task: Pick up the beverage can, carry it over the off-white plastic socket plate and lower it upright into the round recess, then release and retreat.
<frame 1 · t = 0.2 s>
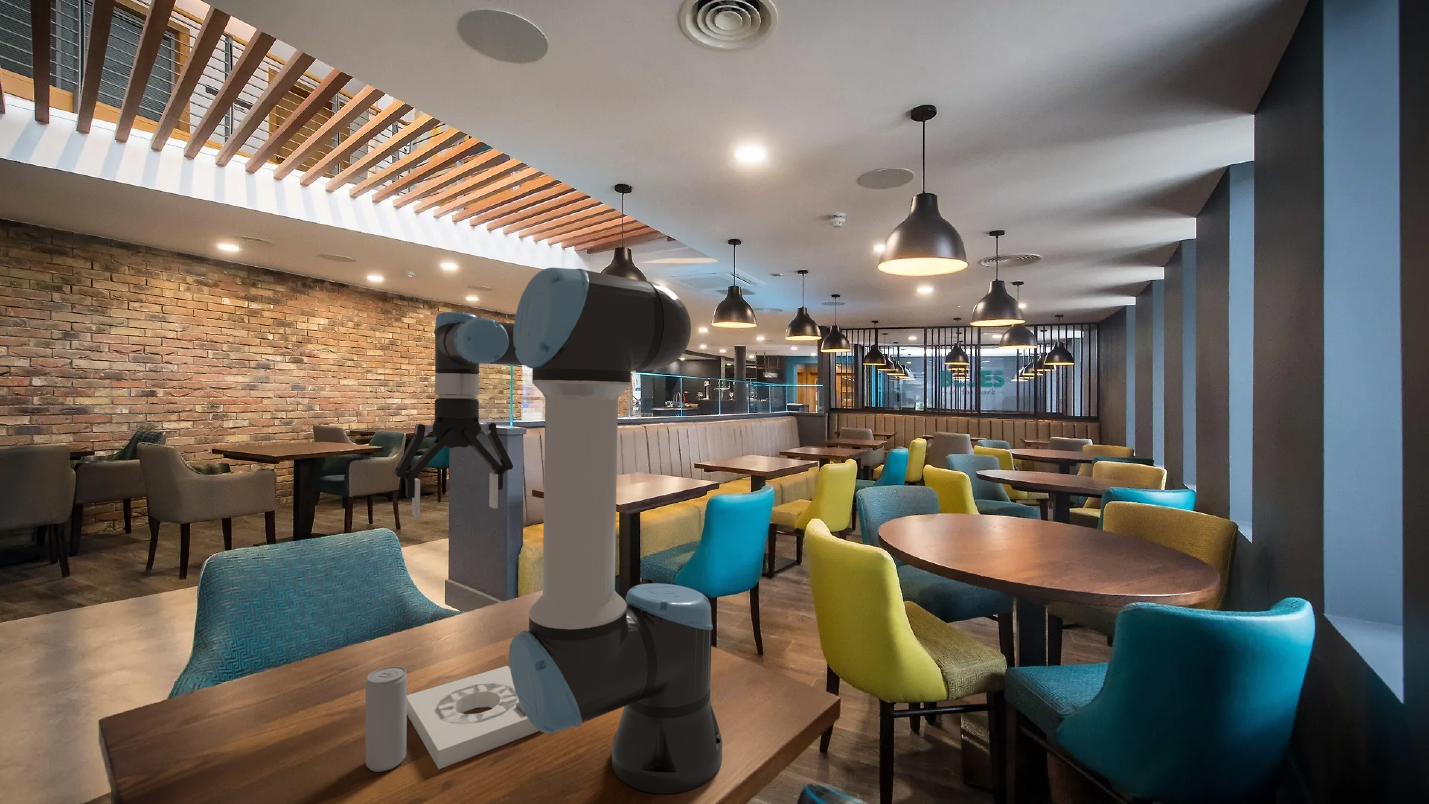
hand: (456, 511, 108), 28 cm above the table, fingers open, 13 cm apart
beverage can: (386, 763, 78), on the table
socket plate: (477, 718, 89), on the table
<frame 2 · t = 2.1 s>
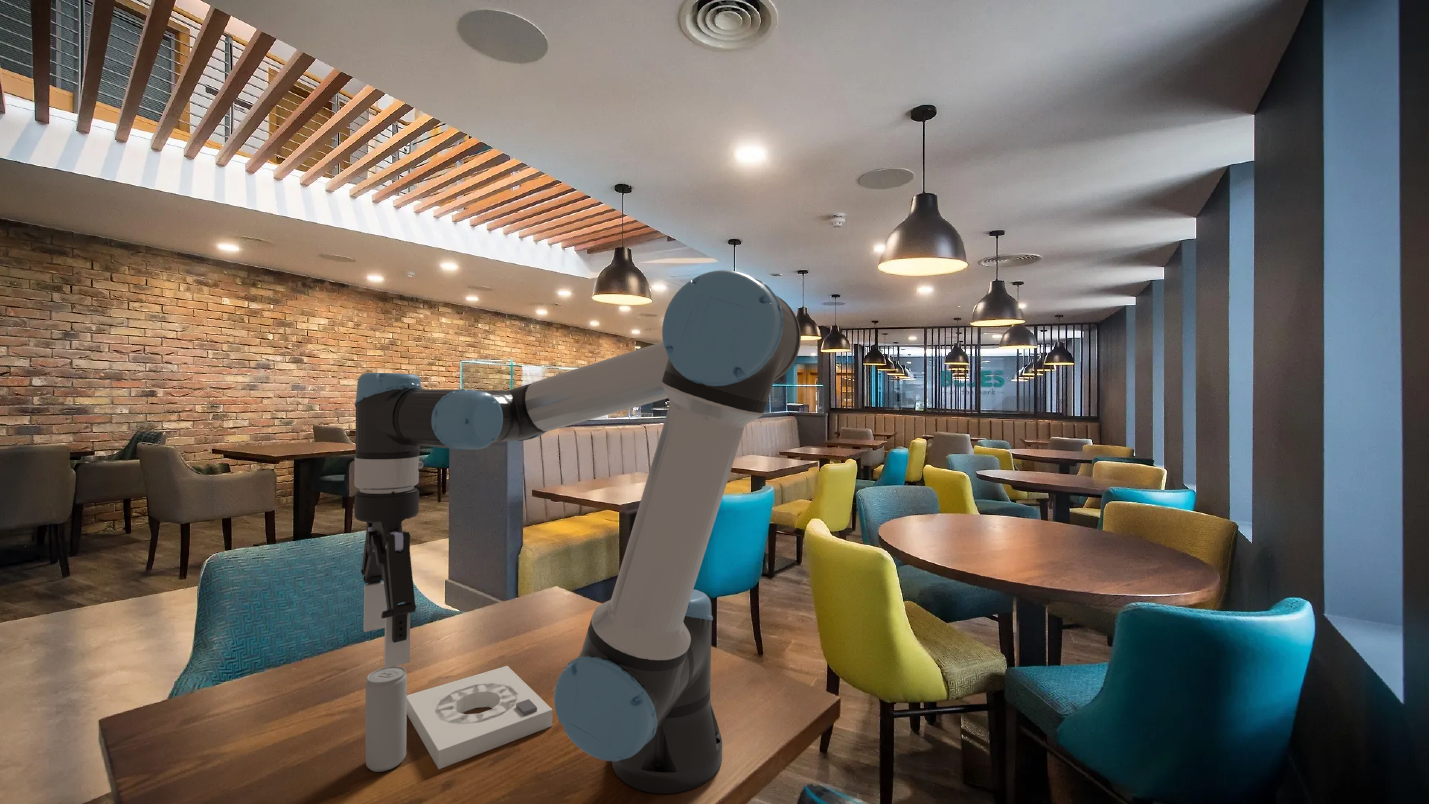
hand: (385, 645, 78), 16 cm above the table, fingers open, 13 cm apart
nothing on the table moved.
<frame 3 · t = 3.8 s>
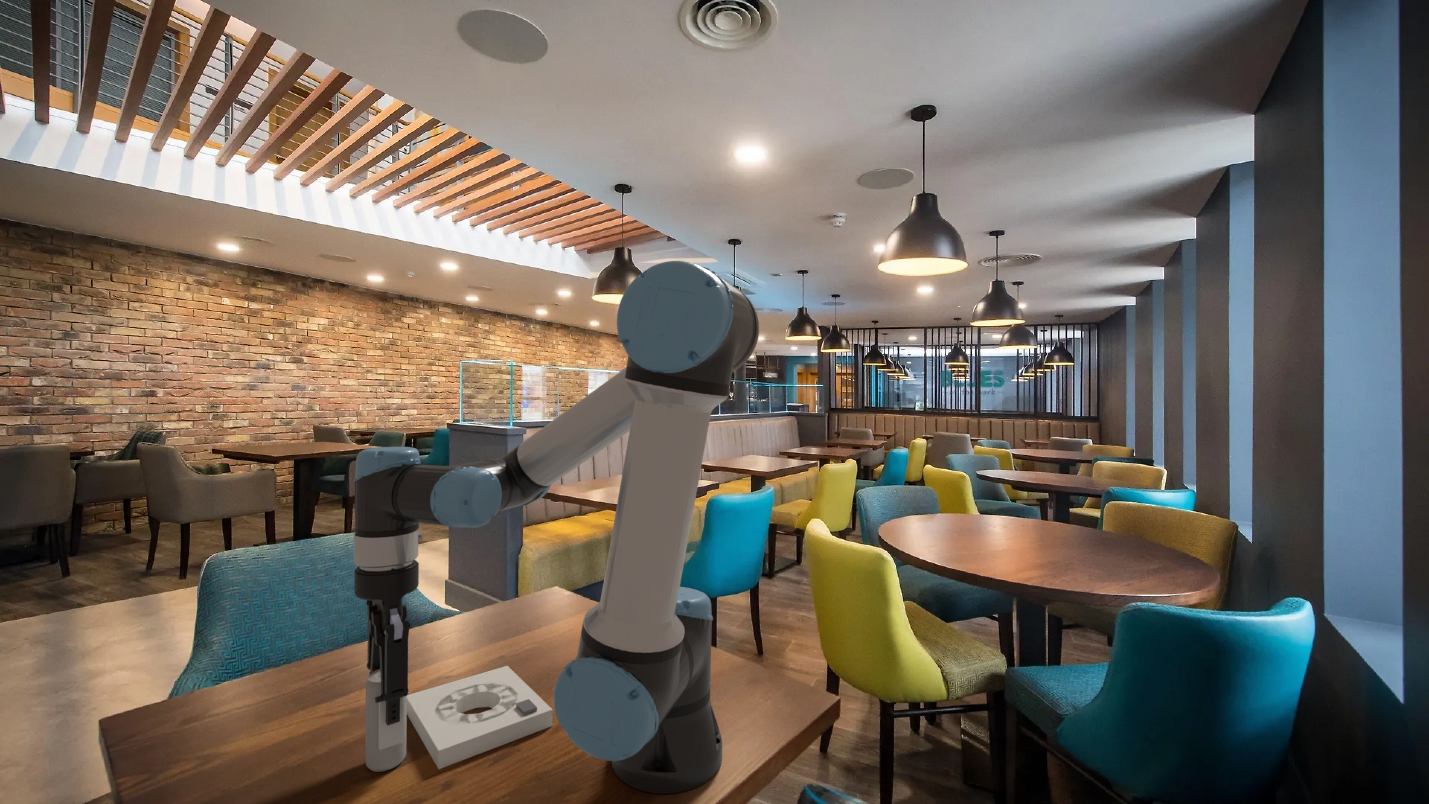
hand: (386, 734, 78), 4 cm above the table, fingers closed on beverage can, 5 cm apart
beverage can: (386, 763, 78), on the table, touching gripper
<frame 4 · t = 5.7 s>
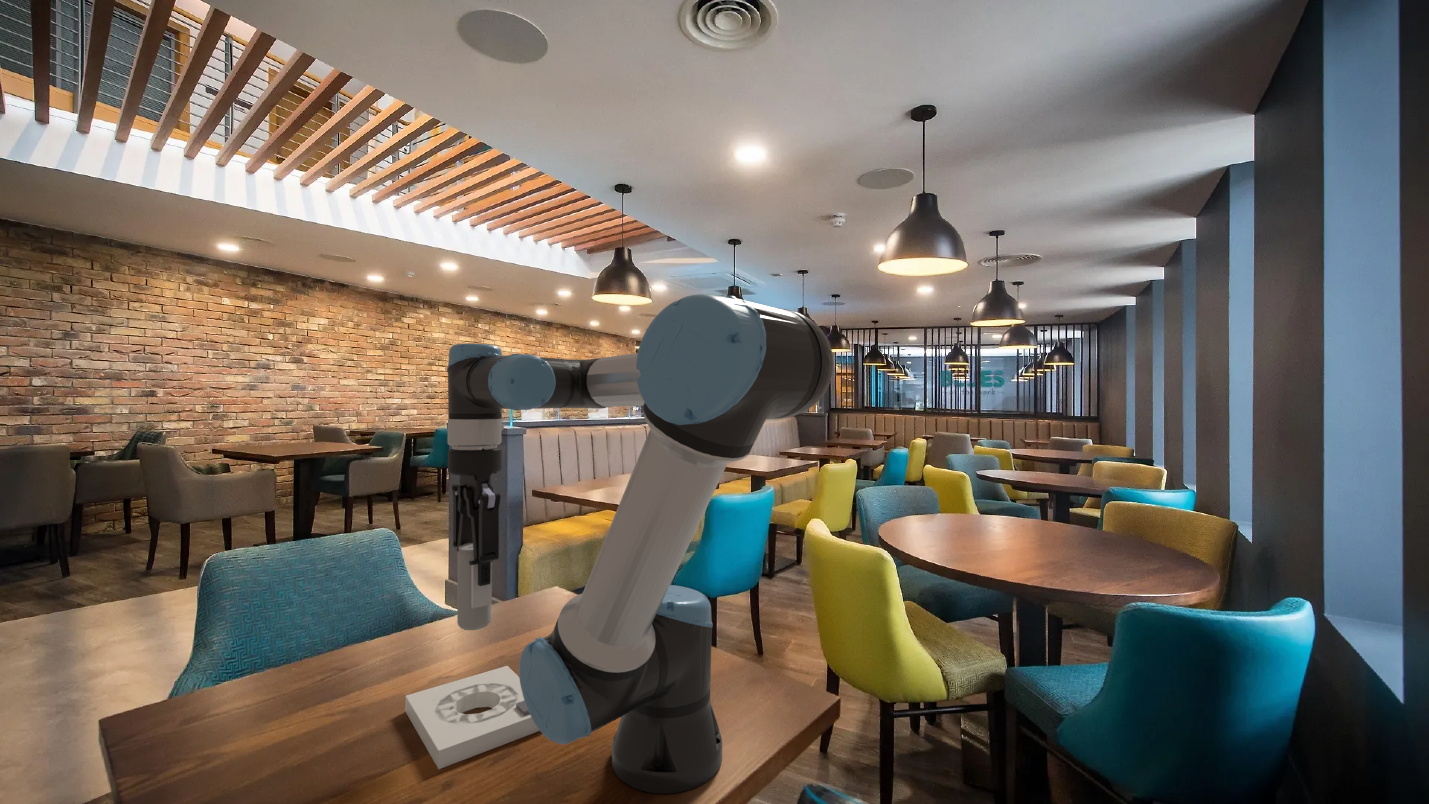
hand: (474, 600, 88), 18 cm above the table, fingers closed on beverage can, 5 cm apart
beverage can: (474, 626, 88), point 15 cm above the table, touching gripper
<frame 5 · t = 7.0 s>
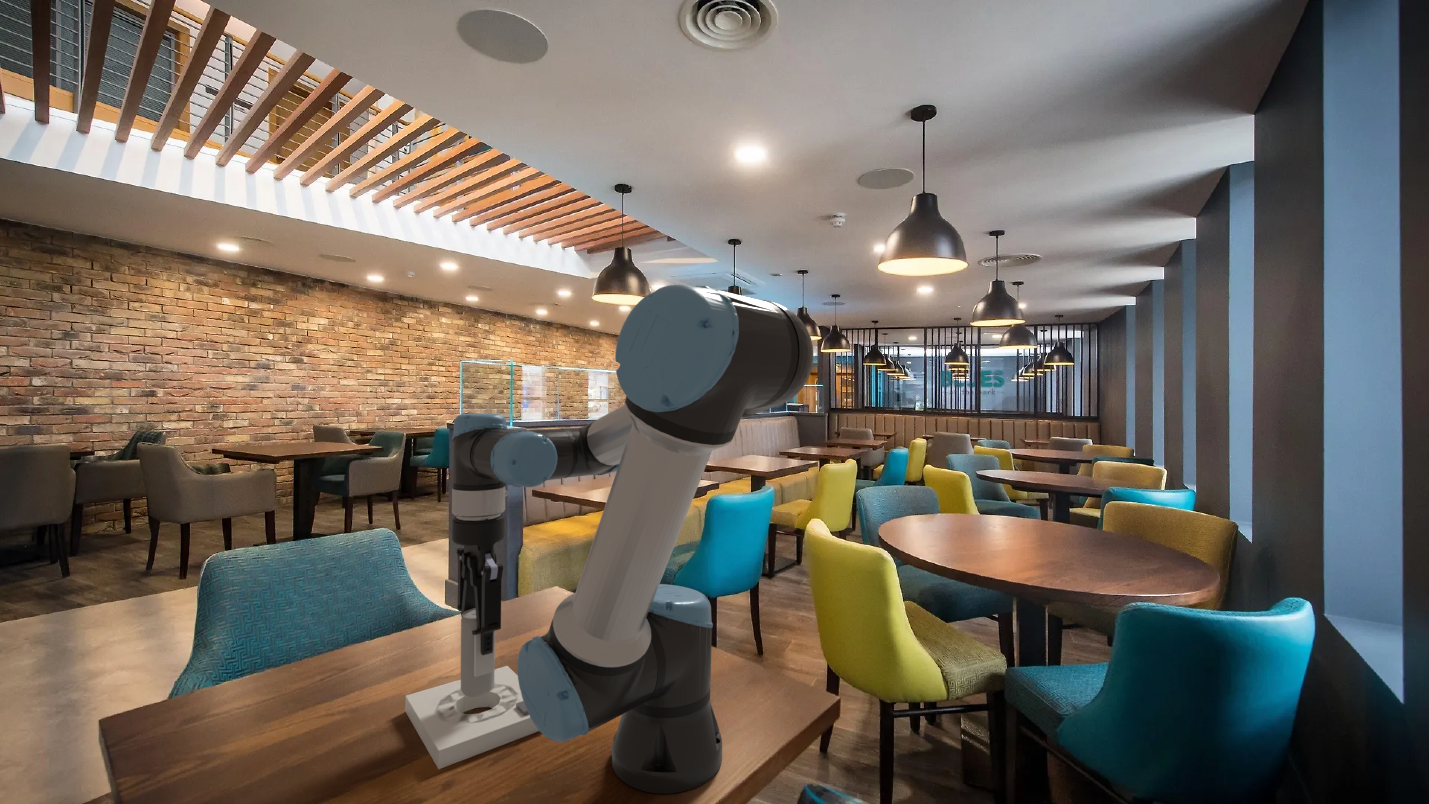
hand: (477, 666, 89), 8 cm above the table, fingers closed on beverage can, 5 cm apart
beverage can: (477, 691, 89), point 4 cm above the table, touching gripper
when the fingers open (4 cm above the table, at t = 8.0 s): beverage can stays where it is, resting in socket plate.
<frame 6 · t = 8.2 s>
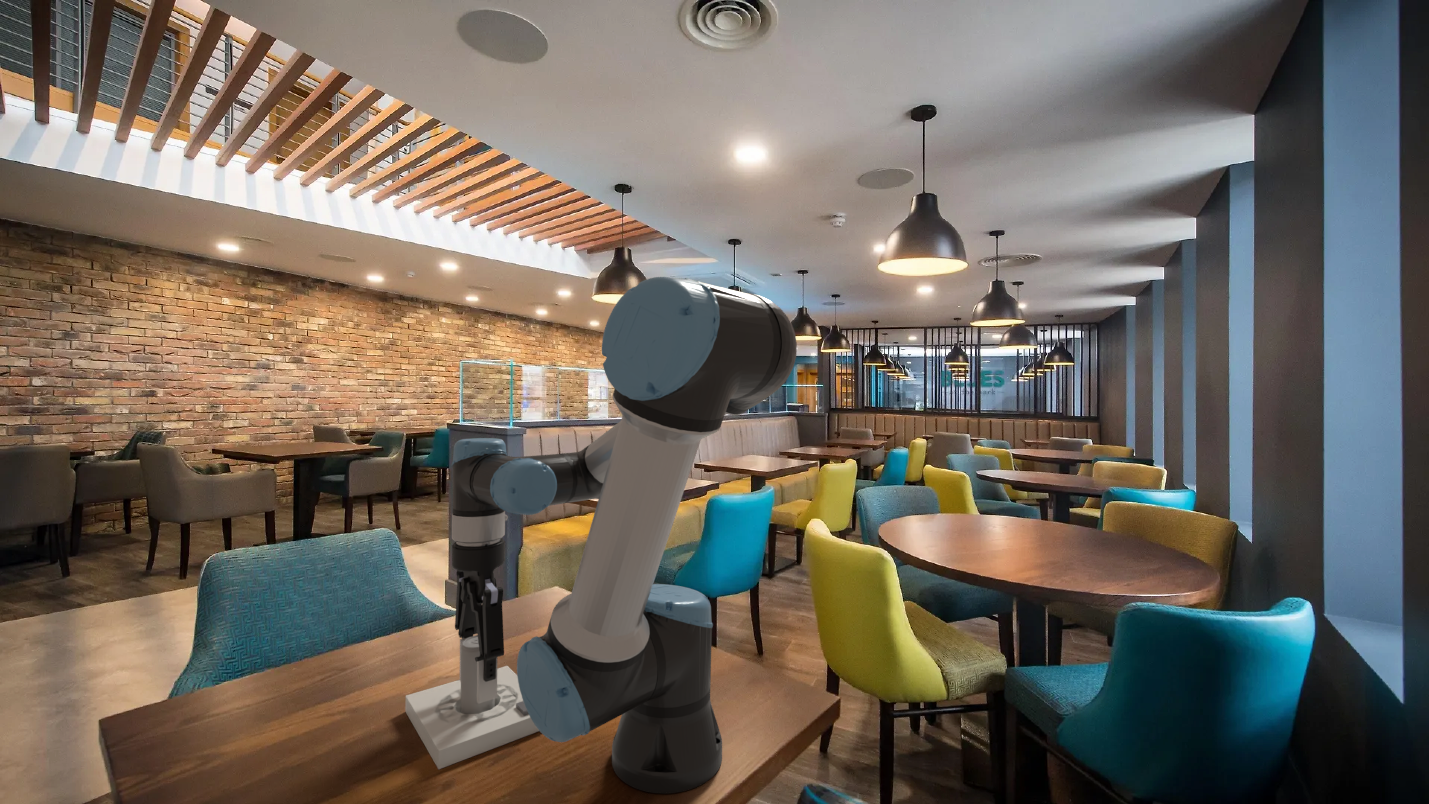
hand: (477, 688, 89), 5 cm above the table, fingers open, 7 cm apart
beverage can: (477, 720, 89), resting in socket plate
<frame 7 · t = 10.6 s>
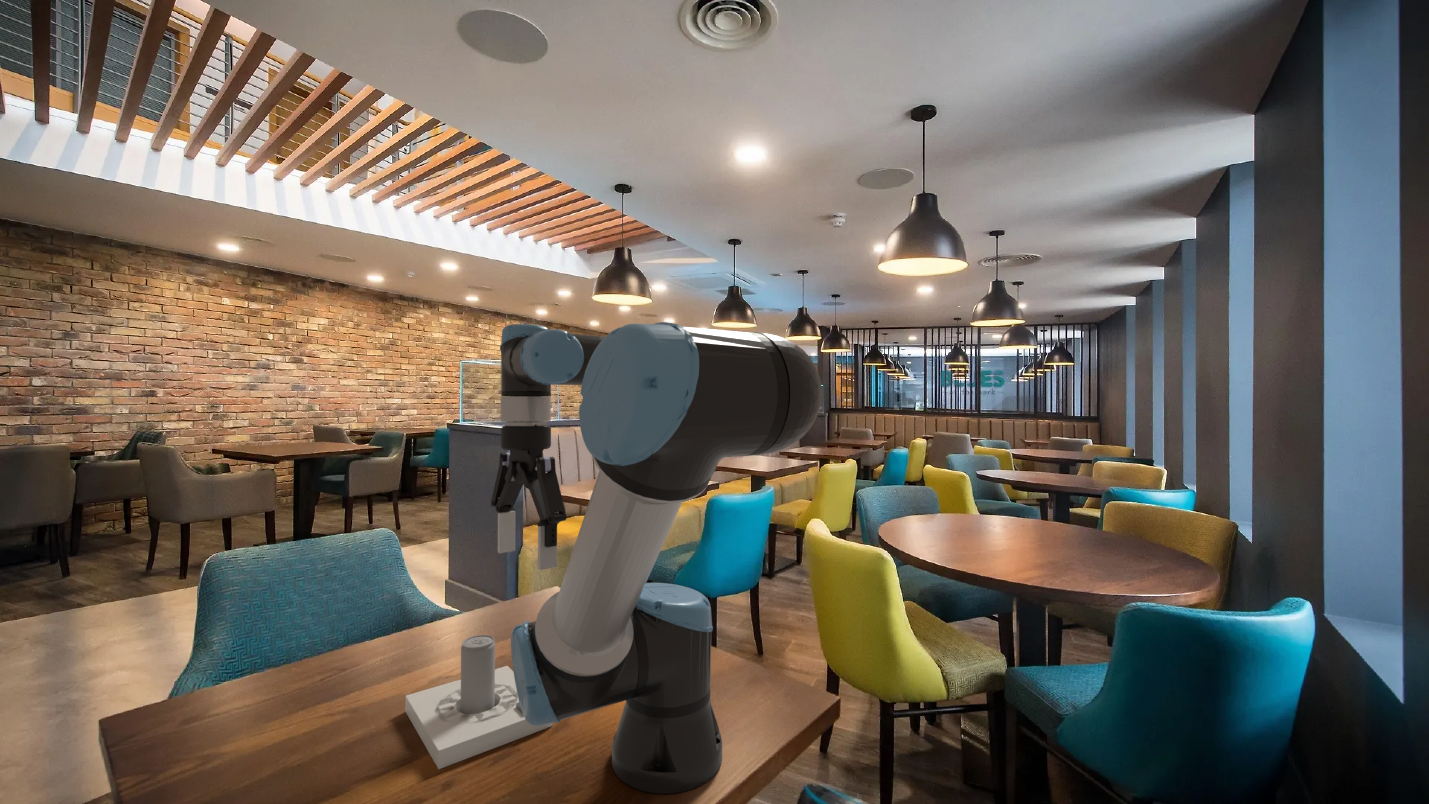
hand: (525, 559, 91), 24 cm above the table, fingers open, 13 cm apart
nothing on the table moved.
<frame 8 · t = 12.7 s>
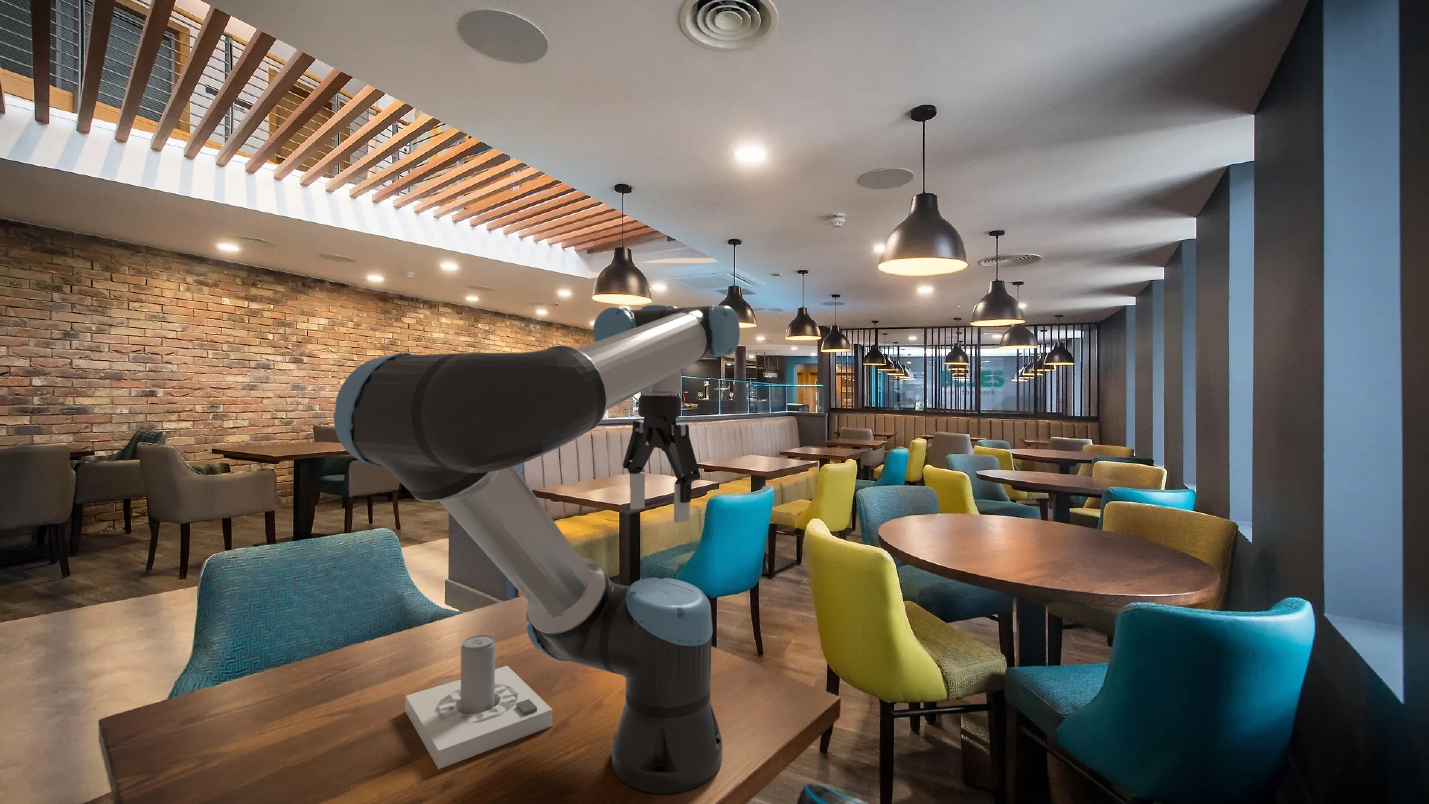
hand: (658, 514, 103), 29 cm above the table, fingers open, 13 cm apart
nothing on the table moved.
at the end: beverage can 0.0 cm from the socket plate (horizontally); beverage can resting in socket plate; beverage can tilted 0° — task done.
